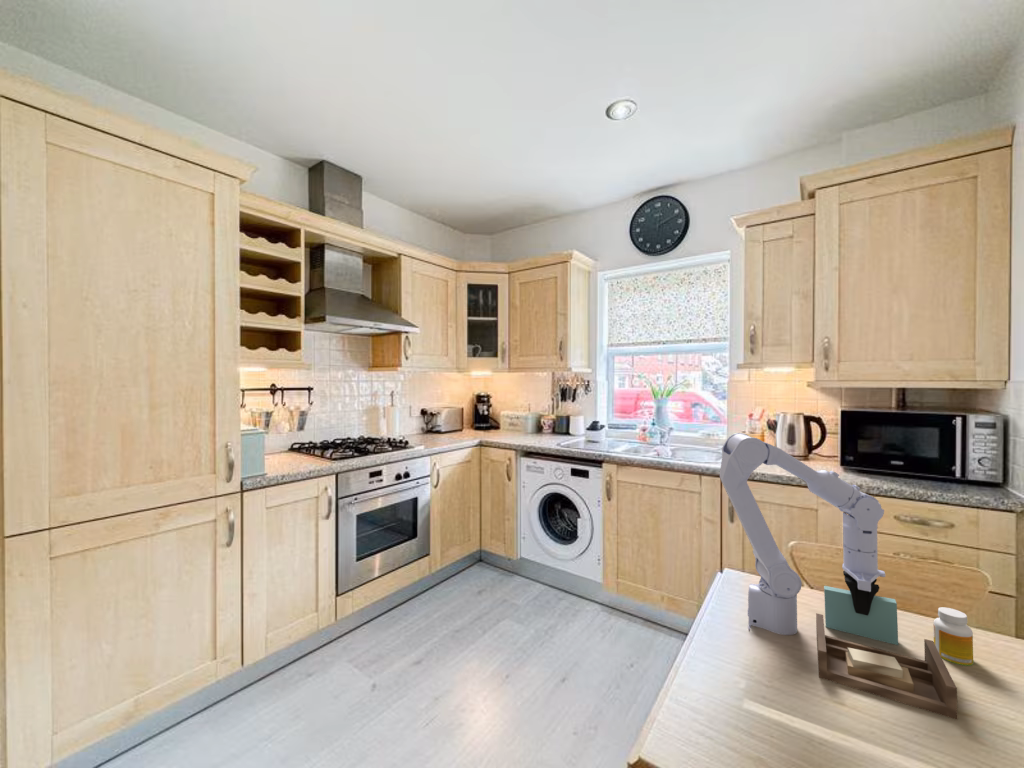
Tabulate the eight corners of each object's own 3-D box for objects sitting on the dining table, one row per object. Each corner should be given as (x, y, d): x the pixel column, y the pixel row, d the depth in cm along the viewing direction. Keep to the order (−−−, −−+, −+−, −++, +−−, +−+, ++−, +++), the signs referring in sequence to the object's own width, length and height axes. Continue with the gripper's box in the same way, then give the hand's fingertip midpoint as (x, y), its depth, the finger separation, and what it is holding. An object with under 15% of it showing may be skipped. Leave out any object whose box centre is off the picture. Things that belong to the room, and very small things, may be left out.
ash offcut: (853, 667, 78) (853, 659, 78) (847, 655, 82) (847, 647, 82) (902, 678, 75) (902, 670, 75) (894, 665, 79) (894, 657, 79)
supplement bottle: (981, 672, 80) (981, 621, 80) (948, 669, 81) (947, 618, 81) (958, 654, 86) (957, 606, 86) (926, 651, 87) (926, 604, 87)
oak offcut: (847, 673, 79) (847, 665, 79) (845, 659, 83) (845, 651, 83) (913, 692, 74) (913, 684, 74) (907, 676, 78) (907, 668, 78)
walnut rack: (818, 682, 78) (818, 649, 78) (816, 641, 90) (816, 613, 90) (957, 725, 68) (956, 688, 68) (933, 672, 80) (933, 640, 80)
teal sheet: (825, 630, 94) (824, 589, 94) (825, 625, 96) (824, 585, 96) (898, 647, 87) (896, 603, 87) (896, 642, 89) (895, 599, 89)
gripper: (890, 563, 83) (891, 633, 83) (879, 540, 95) (880, 601, 95) (844, 556, 87) (845, 622, 87) (839, 534, 99) (840, 593, 99)
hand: (861, 610), depth 91 cm, fingers closed on teal sheet, 2 cm apart
